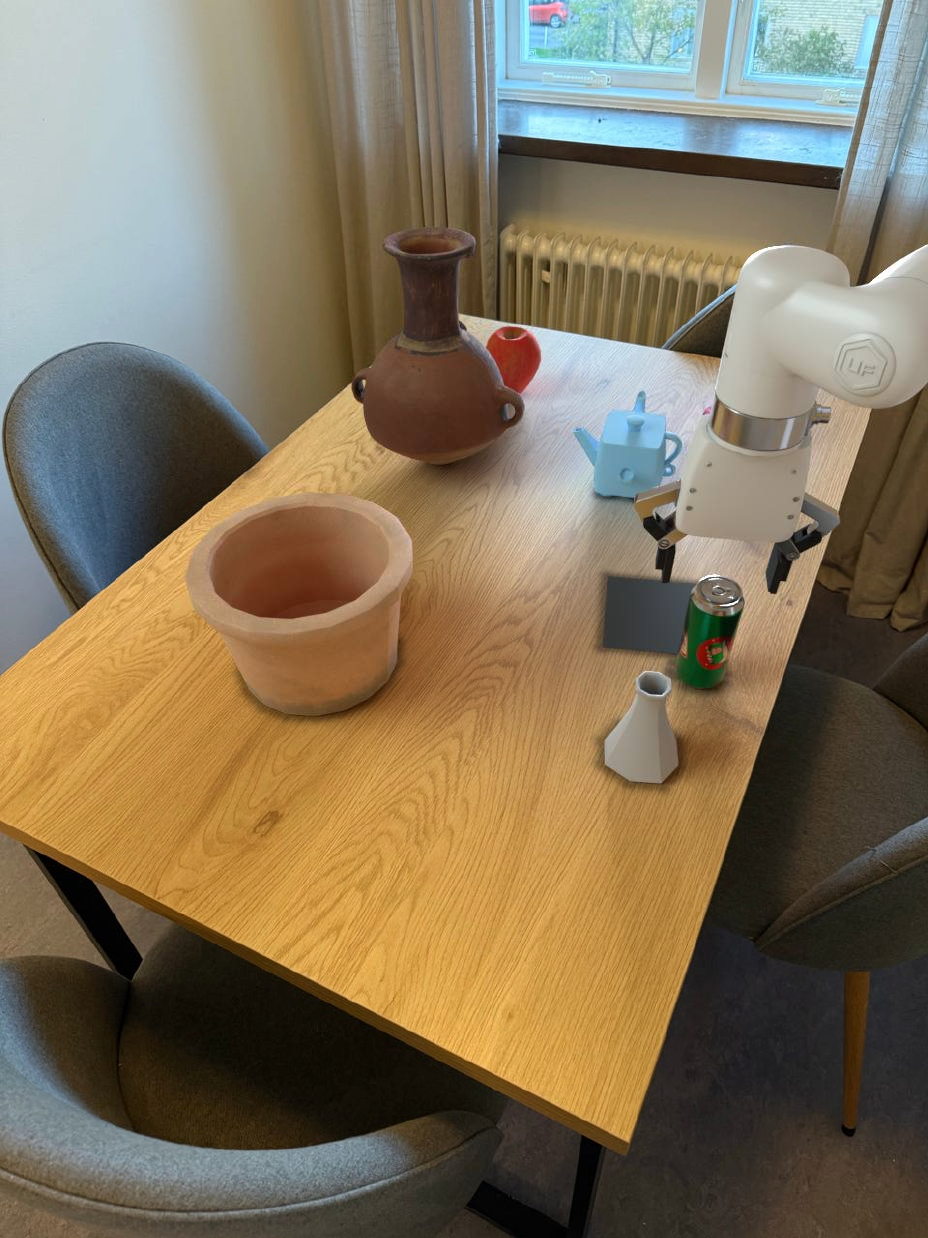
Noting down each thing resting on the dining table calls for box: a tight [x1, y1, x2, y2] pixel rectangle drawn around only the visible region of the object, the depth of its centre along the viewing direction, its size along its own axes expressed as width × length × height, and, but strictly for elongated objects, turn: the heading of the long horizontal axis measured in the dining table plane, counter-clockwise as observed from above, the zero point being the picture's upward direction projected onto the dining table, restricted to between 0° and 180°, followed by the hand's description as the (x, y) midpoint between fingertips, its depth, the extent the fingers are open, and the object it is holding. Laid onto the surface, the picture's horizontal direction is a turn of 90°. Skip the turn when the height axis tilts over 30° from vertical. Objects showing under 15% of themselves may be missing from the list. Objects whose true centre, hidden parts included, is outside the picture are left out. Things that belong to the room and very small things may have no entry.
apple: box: [485, 325, 542, 395], centre depth 129 cm, size 9×8×11 cm
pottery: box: [184, 492, 414, 717], centre depth 86 cm, size 22×22×14 cm
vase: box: [350, 226, 525, 466], centre depth 109 cm, size 25×20×30 cm
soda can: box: [674, 574, 746, 690], centre depth 83 cm, size 5×5×12 cm
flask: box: [604, 670, 679, 784], centre depth 76 cm, size 7×7×10 cm
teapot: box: [572, 390, 683, 499], centre depth 110 cm, size 18×14×10 cm
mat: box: [602, 575, 697, 655], centre depth 94 cm, size 12×12×1 cm
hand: (717, 578), depth 78 cm, fingers open, 9 cm apart
